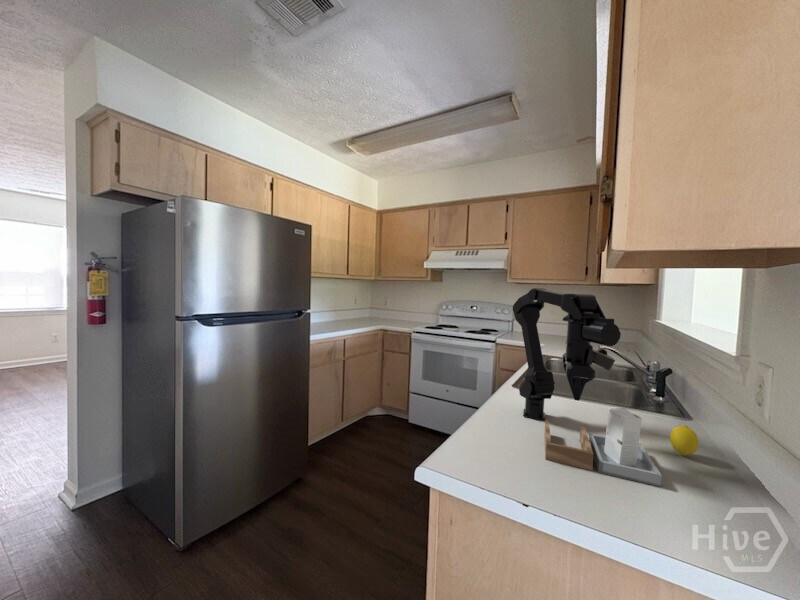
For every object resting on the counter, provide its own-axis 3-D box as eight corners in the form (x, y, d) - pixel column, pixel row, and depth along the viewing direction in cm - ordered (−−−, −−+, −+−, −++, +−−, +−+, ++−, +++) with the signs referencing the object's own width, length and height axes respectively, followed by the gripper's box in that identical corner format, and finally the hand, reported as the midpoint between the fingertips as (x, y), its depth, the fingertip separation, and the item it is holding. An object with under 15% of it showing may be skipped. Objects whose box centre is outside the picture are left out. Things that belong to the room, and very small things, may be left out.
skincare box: (603, 452, 81) (606, 406, 80) (620, 453, 81) (623, 407, 81) (620, 466, 75) (623, 416, 74) (638, 467, 75) (642, 417, 74)
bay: (544, 433, 92) (545, 420, 92) (583, 441, 88) (584, 427, 88) (545, 459, 78) (546, 443, 78) (592, 470, 74) (593, 453, 74)
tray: (588, 442, 87) (589, 433, 87) (639, 453, 83) (640, 443, 83) (598, 472, 73) (599, 461, 73) (660, 487, 68) (661, 475, 68)
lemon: (670, 447, 86) (672, 419, 86) (697, 456, 82) (700, 426, 82) (667, 454, 83) (670, 424, 82) (696, 463, 79) (699, 432, 78)
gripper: (621, 348, 75) (617, 412, 76) (606, 337, 92) (602, 390, 93) (568, 343, 80) (565, 403, 80) (563, 333, 97) (560, 384, 97)
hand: (575, 394), depth 88 cm, fingers open, 9 cm apart
